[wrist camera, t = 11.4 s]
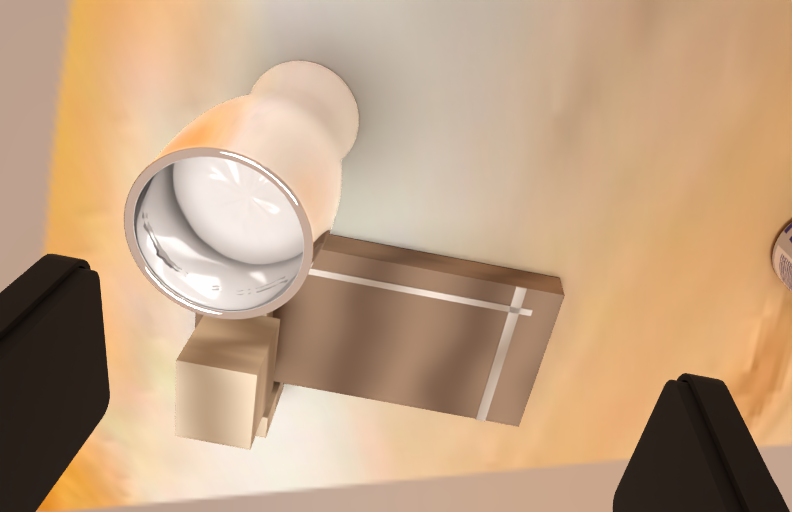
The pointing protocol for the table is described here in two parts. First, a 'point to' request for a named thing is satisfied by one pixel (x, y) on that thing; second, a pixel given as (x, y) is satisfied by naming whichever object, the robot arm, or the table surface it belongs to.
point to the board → (417, 330)
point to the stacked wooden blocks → (228, 381)
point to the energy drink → (784, 257)
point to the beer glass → (245, 194)
